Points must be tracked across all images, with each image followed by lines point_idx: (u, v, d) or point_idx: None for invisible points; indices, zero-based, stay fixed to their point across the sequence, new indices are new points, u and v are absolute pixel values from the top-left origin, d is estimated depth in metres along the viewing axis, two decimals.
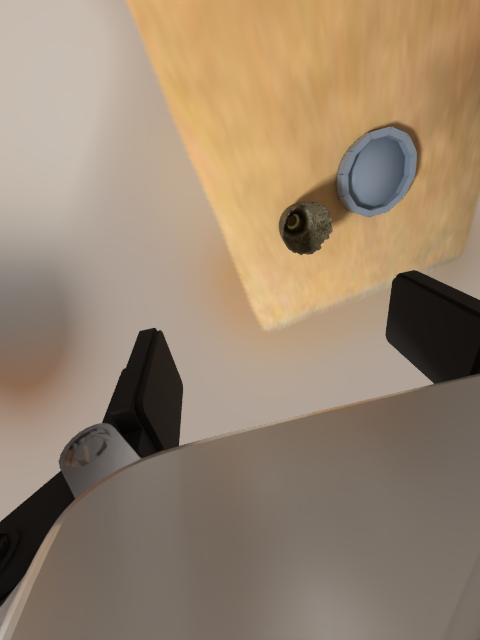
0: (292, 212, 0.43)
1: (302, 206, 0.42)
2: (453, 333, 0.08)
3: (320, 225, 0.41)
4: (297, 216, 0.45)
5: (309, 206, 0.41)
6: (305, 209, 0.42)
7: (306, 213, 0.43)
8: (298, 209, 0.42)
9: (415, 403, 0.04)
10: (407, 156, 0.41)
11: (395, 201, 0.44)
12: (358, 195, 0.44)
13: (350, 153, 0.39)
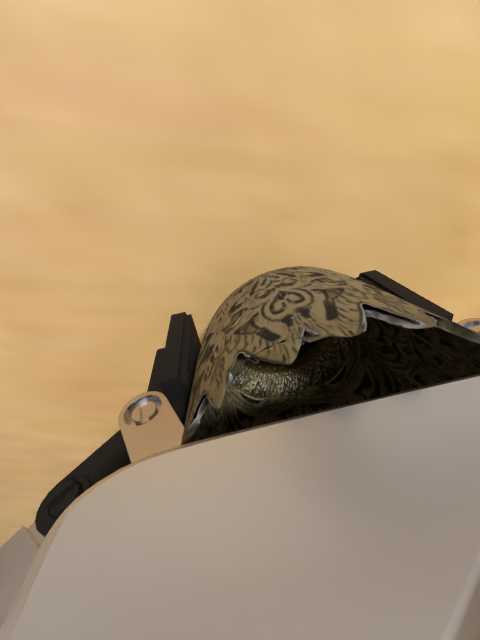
0: None
1: (319, 375, 0.11)
2: None
3: None
4: None
5: (320, 406, 0.11)
6: (299, 377, 0.12)
7: (282, 374, 0.12)
8: (311, 355, 0.12)
9: (415, 403, 0.04)
10: None
11: None
12: None
13: None
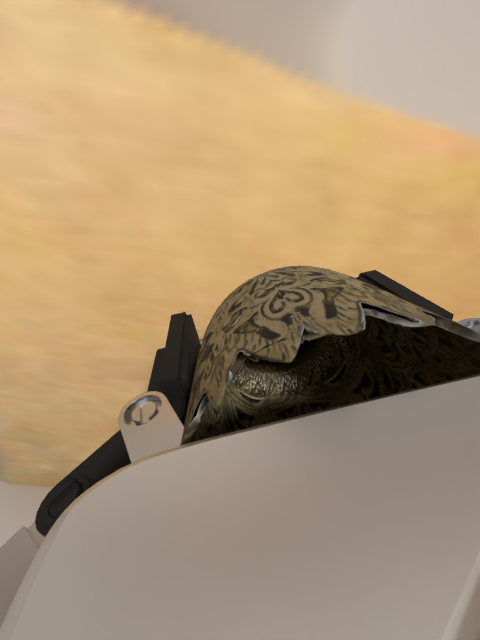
0: None
1: (319, 374, 0.11)
2: None
3: None
4: None
5: (319, 405, 0.11)
6: (299, 377, 0.12)
7: (282, 373, 0.12)
8: (311, 355, 0.12)
9: (415, 403, 0.04)
10: None
11: None
12: None
13: None
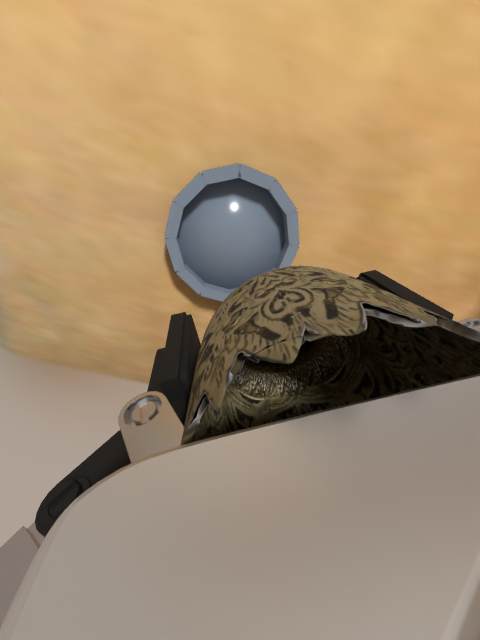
0: None
1: (319, 375, 0.11)
2: None
3: None
4: None
5: (319, 406, 0.11)
6: (299, 377, 0.12)
7: (282, 373, 0.12)
8: (311, 355, 0.12)
9: (415, 403, 0.04)
10: (229, 291, 0.27)
11: (175, 257, 0.24)
12: (217, 200, 0.23)
13: (294, 207, 0.23)
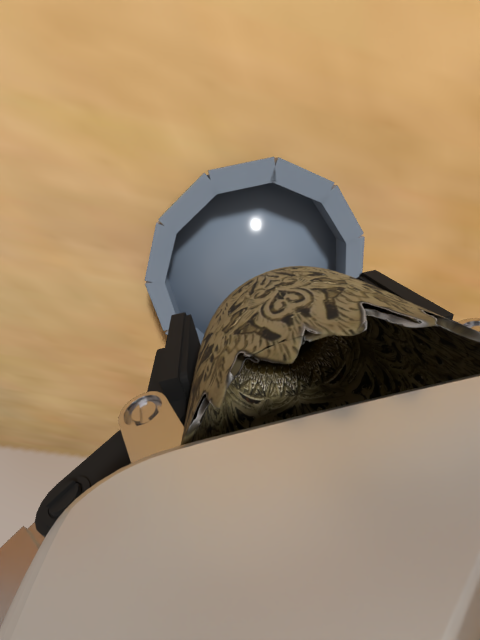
0: None
1: (319, 375, 0.11)
2: None
3: None
4: None
5: (319, 406, 0.11)
6: (299, 377, 0.12)
7: (282, 374, 0.12)
8: (311, 355, 0.12)
9: (415, 403, 0.04)
10: None
11: (164, 309, 0.15)
12: (232, 219, 0.14)
13: (359, 230, 0.14)
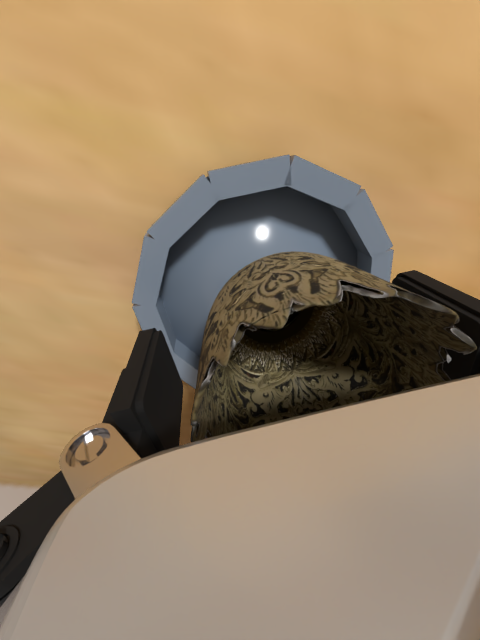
0: (308, 314, 0.12)
1: (312, 351, 0.12)
2: None
3: (248, 406, 0.11)
4: None
5: (313, 378, 0.12)
6: (294, 354, 0.13)
7: (279, 351, 0.13)
8: (305, 334, 0.13)
9: (415, 403, 0.04)
10: None
11: None
12: (237, 229, 0.12)
13: (388, 242, 0.12)
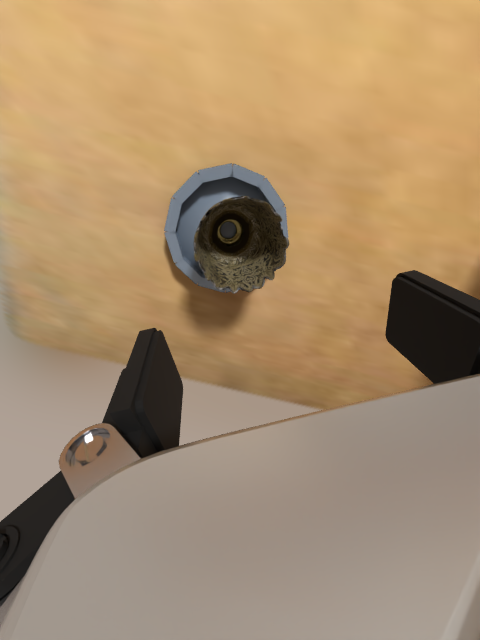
0: (247, 236, 0.26)
1: (250, 254, 0.26)
2: (453, 333, 0.08)
3: (218, 271, 0.24)
4: (230, 241, 0.28)
5: (250, 264, 0.25)
6: (242, 257, 0.26)
7: (235, 256, 0.26)
8: (247, 246, 0.26)
9: (415, 403, 0.04)
10: None
11: (174, 249, 0.26)
12: (212, 197, 0.26)
13: (282, 202, 0.26)
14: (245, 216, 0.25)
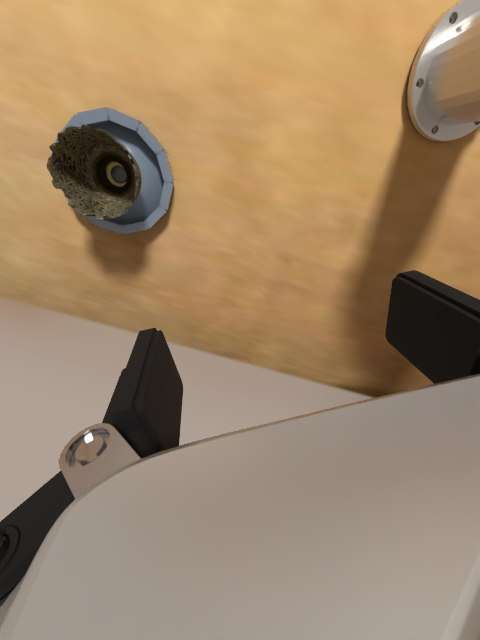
0: (130, 177, 0.29)
1: (133, 193, 0.29)
2: (453, 333, 0.08)
3: (96, 206, 0.27)
4: (122, 185, 0.31)
5: (130, 201, 0.28)
6: (128, 197, 0.29)
7: (122, 196, 0.30)
8: (131, 187, 0.29)
9: (415, 403, 0.04)
10: (123, 224, 0.33)
11: None
12: None
13: (161, 147, 0.29)
14: (123, 157, 0.28)
